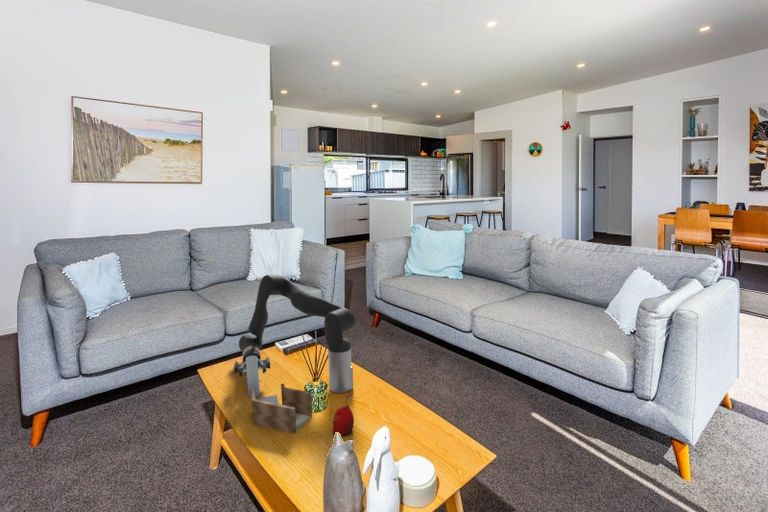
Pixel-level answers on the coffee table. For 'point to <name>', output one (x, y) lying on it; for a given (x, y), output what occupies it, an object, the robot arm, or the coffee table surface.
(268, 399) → the pad
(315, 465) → the coffee table surface
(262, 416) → the channel
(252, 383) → the baton
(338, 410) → the red clay folk toy
